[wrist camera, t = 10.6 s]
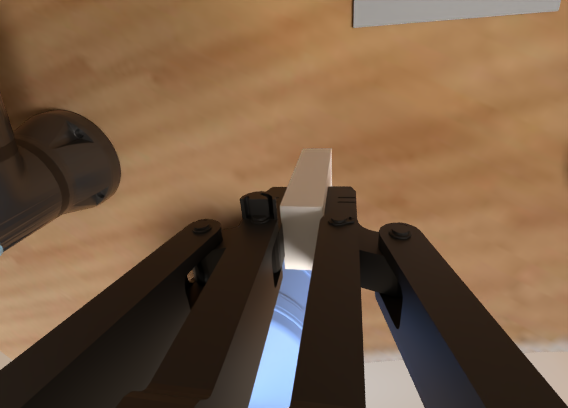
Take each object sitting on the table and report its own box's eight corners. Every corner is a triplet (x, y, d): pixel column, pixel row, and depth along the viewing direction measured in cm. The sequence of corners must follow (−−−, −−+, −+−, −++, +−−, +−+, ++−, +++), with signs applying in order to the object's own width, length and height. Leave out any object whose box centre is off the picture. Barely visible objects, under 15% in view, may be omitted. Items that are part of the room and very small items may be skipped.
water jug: (214, 253, 56) (108, 427, 31) (268, 189, 48) (184, 350, 24) (288, 304, 58) (243, 504, 33) (349, 250, 51) (349, 454, 26)
